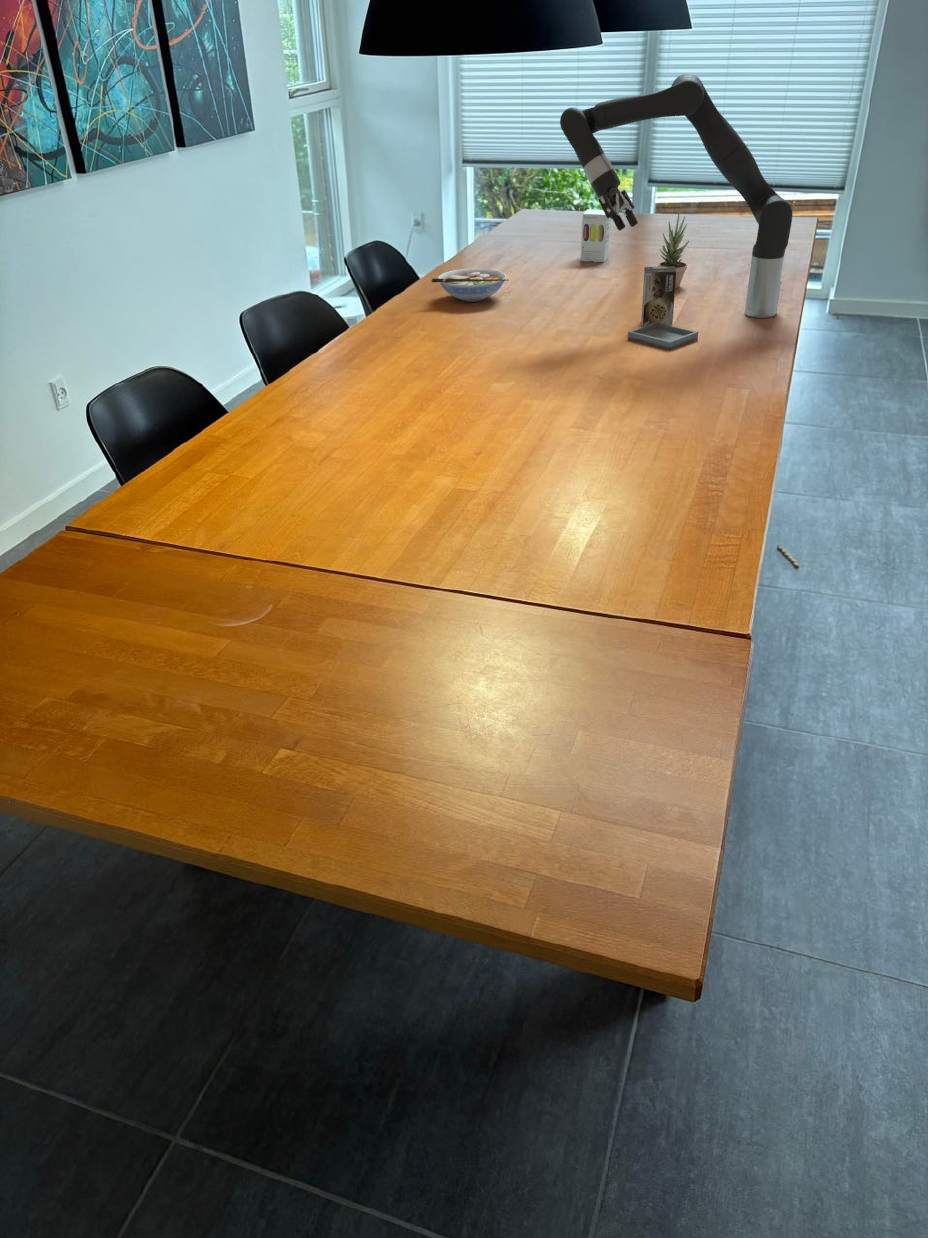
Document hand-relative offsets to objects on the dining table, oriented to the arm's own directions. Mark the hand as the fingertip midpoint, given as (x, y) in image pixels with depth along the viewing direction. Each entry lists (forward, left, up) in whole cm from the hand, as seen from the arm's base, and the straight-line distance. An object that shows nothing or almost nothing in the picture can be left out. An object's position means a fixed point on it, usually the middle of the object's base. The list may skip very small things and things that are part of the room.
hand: (628, 226), depth 272 cm
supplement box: (-56, -61, -28) cm, 88 cm away
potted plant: (-43, -15, -27) cm, 54 cm away
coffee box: (-5, +9, -27) cm, 29 cm away
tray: (+6, +20, -27) cm, 34 cm away
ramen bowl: (+13, -54, -28) cm, 62 cm away
